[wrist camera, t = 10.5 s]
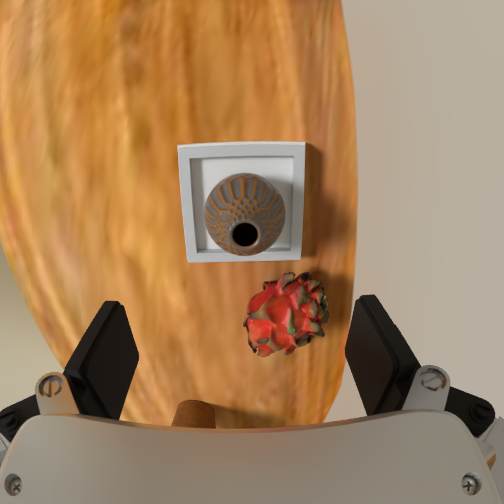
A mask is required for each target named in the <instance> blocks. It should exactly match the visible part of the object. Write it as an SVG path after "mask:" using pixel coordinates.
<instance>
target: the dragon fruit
mask: <svg viewBox="0 0 504 504" xmlns="http://www.w3.org/2000/svg"><path fill="white" fill-rule="evenodd" d="M294 276H295V274H294V273H293V272H289V273H284V274H283V276H282V277H281V279H280V280H279V281H278V283H272V284H270V283H268V281H267V282H264V283H263V285H262V286H263V290H264V291H262V292H261V293H258V294H256V295H255V296H254V297H252V298H251V300H250V301H249V303H248V305H247V311H246V316H245V321H244V324H243V326H244V327H245V326H246V329H247V332H248V343H249V345H250V347H251V348H252V349H253V352H254V353H256V351H257V350H256V348H257V347H258V348H259V352H258V354H257V355H259V356H261V357H266V356H268V355H270V354H271V353H273V352H275V351H279V350H282V349H285V351H286V352H285V354H284V356H285V355H289V354H291V353H292V352H293V351H294V349H295V348H297V347H301V346H305V345H306V344H307V343H310V342H311V340H312V339H313V338H314V337H315V336H317V337H324V332H323V329H322V328H321V327H320V326H321V325H323V324H324V323H327V319H328V318H329V313H328V310H327V309H328V307H327V306H328V303H327V301H328V299H327V297H326V296H325V294H324V292H323V291H324V288H323V287H322V286H321V285H323V284H321V283H322V282H319V281H316V280H312V276H311V275H310V274H309V272H305V273H302V274H300V275H299V276H298V277H296V278H295V280H293V279H294ZM308 278H309V279H310V280H309V281H307V279H308ZM306 281H307V282H306Z"/></svg>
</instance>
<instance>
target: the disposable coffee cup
mask: <svg viewBox="0 0 504 504" xmlns="http://www.w3.org/2000/svg"><path fill="white" fill-rule="evenodd" d="M172 426H173V427H187V428H210V429H216V426H215V414H214V409H213V408H212V407H211V406H210V405H208V404H206V403H204V402H200V401H194V400H189V401H184V402H181V403H180V404H179V405H178V408H177V411H176V414H175V417H174V420H173V422H172Z"/></svg>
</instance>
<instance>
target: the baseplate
mask: <svg viewBox="0 0 504 504" xmlns="http://www.w3.org/2000/svg"><path fill="white" fill-rule="evenodd" d="M178 160H179V175H180V189H181V201H182V213H183V223H184V233H185V243H186V252H187V260H188V262H234V261H274V260H300V258H301V247H302V229H303V207H304V180H305V142H301V141H234V142H210V143H194V144H180V145H178ZM237 173H253V174H257V175H260V176H262V177H264V178H266V179H267V180H268V181H270V182H271V183H272V184H273V185H274V186H275V187H276V188H277V190H278V191H279V193H280V194H281V196H282V199H283V202H284V205H285V212H286V216H285V224H284V227H283V230H282V232H281V234H280V236H279V238H278V239H277V240H276V242H275V243H274V244H273V245H272V246H271V247H270V248H268V249H267V250H265V251H263V252H261V253H259V254H256V255H252V256H238V255H234V254H231V253H228V252H226V251H225V250H223V249H221V248H220V247H219V246H218V245H217V244H216V243H215V242H214V241H213V240H212V238H211V237H210V235H209V233H208V231H207V228H206V225H205V220H204V208H205V204H206V201H207V198H208V196H209V194H210V192H211V191H212V189H213V188H214V187H215V186H216V185H217V184H218V183H219V182H220V181H221V180H223V179H224V178H226V177H228V176H230V175H233V174H237Z"/></svg>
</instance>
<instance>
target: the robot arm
mask: <svg viewBox="0 0 504 504" xmlns="http://www.w3.org/2000/svg"><path fill="white" fill-rule="evenodd" d="M345 356H346V359H347V361H348V364H349V367H350V369H351V372H352V375H353V377H354V380H355V383H356V386H357V388H358V391H359V394H360V397H361V399H362V402H363V405H364V408H365V411H366V414H367V416H365V417H360V418H354V419H347V420H341V421H333V422H326V423H318V424H310V425H300V426H288V427H273V428H251V429H210V428H187V427H173V426H161V425H152V424H143V423H135V422H128V421H121V420H119V418H120V415H121V412H122V408H123V405H124V402H125V399H126V396H127V393H128V390H129V387H130V384H131V381H132V378H133V375H134V372H135V369H136V367H137V364H138V361H139V353H138V350H137V347H136V344H135V341H134V337H133V334H132V331H131V328H130V325H129V322H128V318H127V315H126V311H125V308H124V306H123V305H120V303H119V302H118V301H105V302H104V303H103V305H102V306H101V308H100V309H99V311H98V313H97V314H96V316H95V317H94V319H93V321H92V322H91V324H90V326H89V327H88V329H87V330H86V332H85V334H84V335H83V337H82V339H81V340H80V342H79V344H78V346H77V347H76V349H75V351H74V353H73V354H72V356H71V358H70V360H69V361H68V363H67V365H66V367H65V370H64V372H63V374H61V373H58V372H51V373H48V374H45V375H44V376H42V377H41V378H40V379H39V380H38V382H37V383H36V386H35V393H36V394H34V395H33V396H30V397H28V398H26V399H24V400H22V401H20V402H17V403H15V404H13V405H11V406H9V407H6V408H5V409H3V410H2V411H1V412H0V504H504V419H503V418H501V417H499V418H498V419H497V418H496V417H495V411H494V408H493V407H492V405H491V404H490V403H489V402H488V401H486V400H484V399H482V398H479V397H477V396H474V395H471V394H469V393H466V392H464V391H461V390H459V389H456V388H454V387H451V386H450V378H449V376H448V374H447V373H446V372H445V371H444V370H443V369H442V368H440V367H437V366H433V365H426V366H423V367H421V365H420V364H419V362H418V360H417V359H416V357H415V355H414V353H413V352H412V350H411V349H410V347H409V345H408V344H407V342H406V340H405V339H404V337H403V336H402V334H401V332H400V331H399V329H398V328H397V326H396V325H395V324H394V323H393V321H392V320H391V319H390V317H389V315H388V314H387V312H386V311H385V309H384V308H383V306H382V304H381V303H380V302H379V300H378V298H377V297H376V296H375V295H362V296H360V298H359V299H357V300H356V302H355V306H354V311H353V316H352V320H351V325H350V329H349V334H348V338H347V342H346V346H345Z"/></svg>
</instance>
